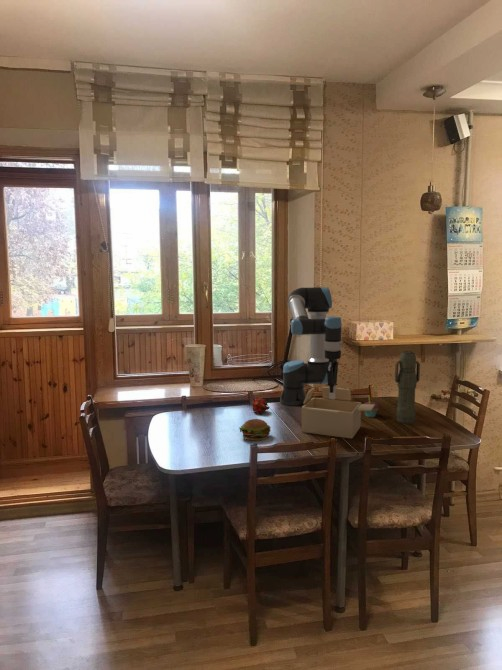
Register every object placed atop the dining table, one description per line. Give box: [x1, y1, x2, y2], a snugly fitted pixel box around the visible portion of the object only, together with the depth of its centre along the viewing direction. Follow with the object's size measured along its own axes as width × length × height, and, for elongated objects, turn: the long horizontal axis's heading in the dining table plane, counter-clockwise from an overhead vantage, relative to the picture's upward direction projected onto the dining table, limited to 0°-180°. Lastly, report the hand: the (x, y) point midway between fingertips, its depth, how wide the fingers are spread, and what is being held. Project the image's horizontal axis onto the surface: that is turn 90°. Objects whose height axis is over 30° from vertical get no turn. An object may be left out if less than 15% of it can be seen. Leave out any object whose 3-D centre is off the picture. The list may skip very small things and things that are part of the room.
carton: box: [301, 397, 362, 439], centre depth 245 cm, size 24×18×12 cm
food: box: [238, 418, 271, 442], centre depth 237 cm, size 14×14×8 cm
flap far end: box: [357, 403, 375, 412], centre depth 238 cm, size 1×9×6 cm
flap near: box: [307, 408, 341, 413], centre depth 232 cm, size 14×1×6 cm
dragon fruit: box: [251, 397, 270, 415], centre depth 273 cm, size 8×8×12 cm
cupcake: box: [363, 394, 380, 418], centre depth 265 cm, size 9×8×12 cm
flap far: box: [321, 386, 352, 402], centre depth 251 cm, size 14×1×6 cm, turn 66°
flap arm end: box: [303, 386, 315, 405], centre depth 248 cm, size 1×9×6 cm, turn 158°
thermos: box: [394, 350, 421, 425], centre depth 255 cm, size 9×12×35 cm
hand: (332, 398), depth 244 cm, fingers closed
